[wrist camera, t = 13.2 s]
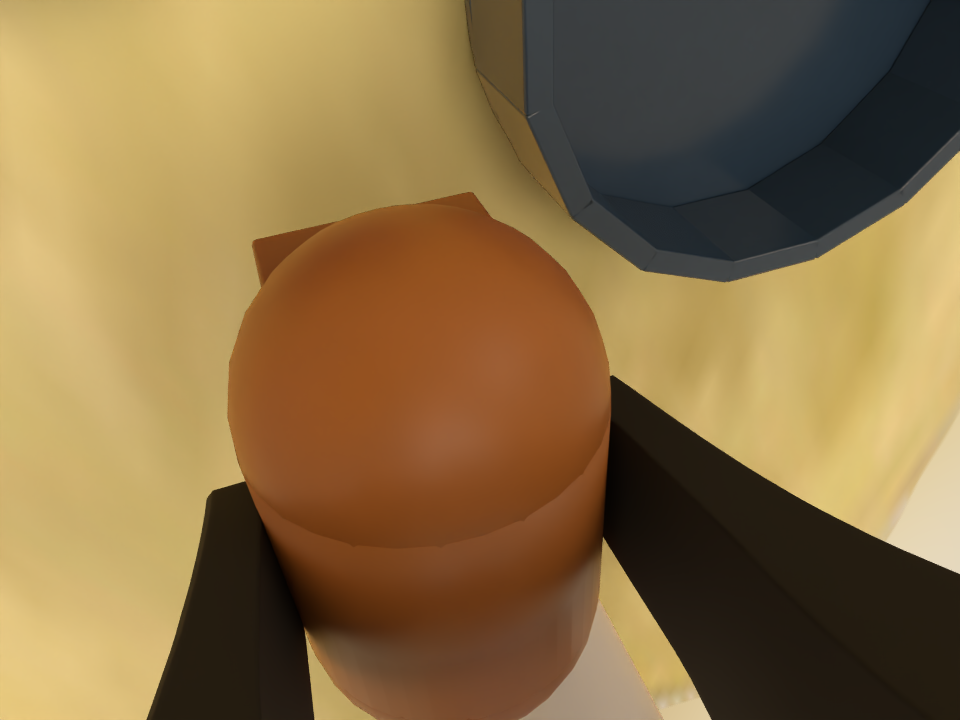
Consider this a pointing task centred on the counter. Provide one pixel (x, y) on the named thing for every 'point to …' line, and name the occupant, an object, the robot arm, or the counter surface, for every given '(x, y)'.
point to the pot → (723, 119)
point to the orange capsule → (427, 455)
